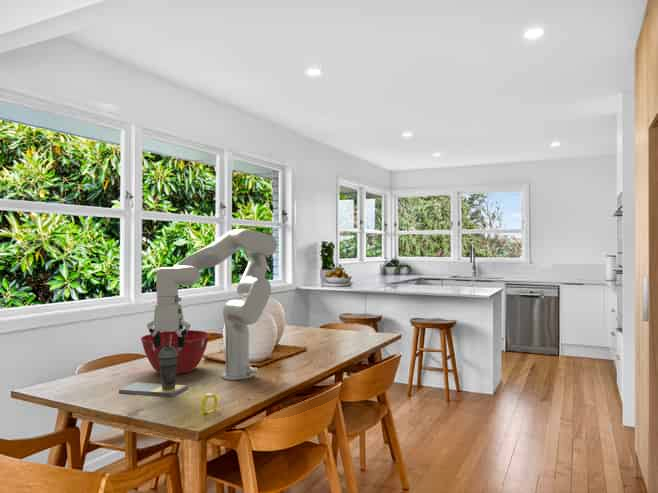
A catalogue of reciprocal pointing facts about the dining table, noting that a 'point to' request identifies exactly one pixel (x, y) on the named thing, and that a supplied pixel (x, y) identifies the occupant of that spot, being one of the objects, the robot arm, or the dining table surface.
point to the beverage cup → (168, 366)
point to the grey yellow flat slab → (151, 389)
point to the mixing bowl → (178, 349)
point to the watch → (205, 402)
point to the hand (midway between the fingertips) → (169, 346)
